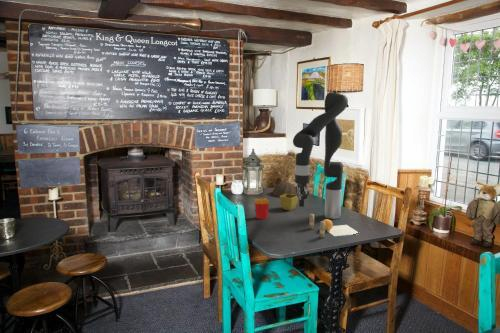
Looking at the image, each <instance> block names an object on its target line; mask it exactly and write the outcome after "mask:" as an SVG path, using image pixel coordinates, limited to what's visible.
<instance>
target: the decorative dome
mask: <svg viewBox="0 0 500 333" xmlns="http://www.w3.org/2000/svg"><path fill="white" fill-rule="evenodd" d="M295 187H296V185H294V183H291V182H289V181H282V182H280V183H278V184H276V185H275V186H274V188H273V190H272V192H271V193H272V195H273V197H277V198H280V196H282V195H284V194H293V195H297V193H296V189H295Z"/></svg>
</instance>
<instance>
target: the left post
mask: <svg viewBox="0 0 500 333" xmlns="http://www.w3.org/2000/svg"><path fill="white" fill-rule="evenodd" d="M308 216H309V217H308V220H309V222H308V229H309V230H315V213H310V214H309V215H308Z"/></svg>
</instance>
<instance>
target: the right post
mask: <svg viewBox="0 0 500 333" xmlns="http://www.w3.org/2000/svg"><path fill="white" fill-rule="evenodd" d="M319 238H320V239H325V238H326V230H325V222H324V221H323V220H321V221H319Z"/></svg>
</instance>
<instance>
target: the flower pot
mask: <svg viewBox="0 0 500 333" xmlns="http://www.w3.org/2000/svg"><path fill="white" fill-rule="evenodd" d="M279 199H280V201H279V202H280V206H281V207H282V209H283V210H285V211H292V210H295V209H296V207H297V205H298V202H299V198H298V197H297V195H293V194H284V195H282V196H280V197H279Z"/></svg>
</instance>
